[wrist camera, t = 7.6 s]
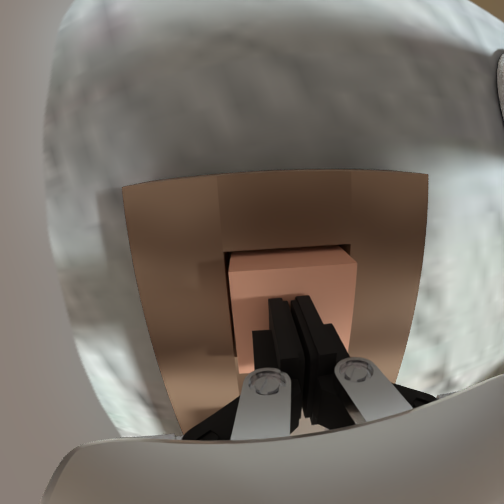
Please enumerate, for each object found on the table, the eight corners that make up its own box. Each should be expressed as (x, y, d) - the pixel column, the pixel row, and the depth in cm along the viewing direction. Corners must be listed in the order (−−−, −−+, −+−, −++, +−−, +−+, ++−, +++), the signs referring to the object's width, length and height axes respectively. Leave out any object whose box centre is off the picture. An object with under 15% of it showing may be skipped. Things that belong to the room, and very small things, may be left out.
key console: (150, 181, 15) (121, 187, 11) (390, 170, 15) (428, 174, 11) (216, 473, 24) (215, 501, 20) (341, 462, 24) (348, 489, 20)
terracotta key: (232, 243, 14) (228, 271, 11) (329, 237, 14) (357, 263, 11) (240, 327, 16) (239, 373, 12) (326, 320, 16) (346, 362, 12)
